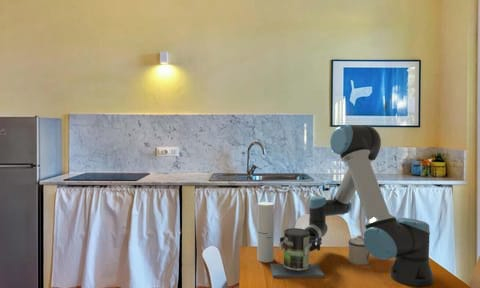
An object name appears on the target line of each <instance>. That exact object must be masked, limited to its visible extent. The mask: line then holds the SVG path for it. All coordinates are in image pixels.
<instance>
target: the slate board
mask: <svg viewBox="0 0 480 288" xmlns="http://www.w3.org/2000/svg"><path fill="white" fill-rule="evenodd" d="M269 267H270V271H271V275H272V277H273V279H277V278H279V279H280V278H281V279H283V278H289V279H290V278H291V279H292V278H294V279H295V278H296V279H297V278H299V279H300V278H302V279H305V278H308V279H309V278H310V279H313V278H316V279H317V278H321V279H322V278H324V279H325V274H324V272H323V270H322V269H321V267H320V266H319V264H318V263H309V268H307V269H305V270H291V269H288V268H286V267H284V263H270V264H269Z"/></svg>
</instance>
